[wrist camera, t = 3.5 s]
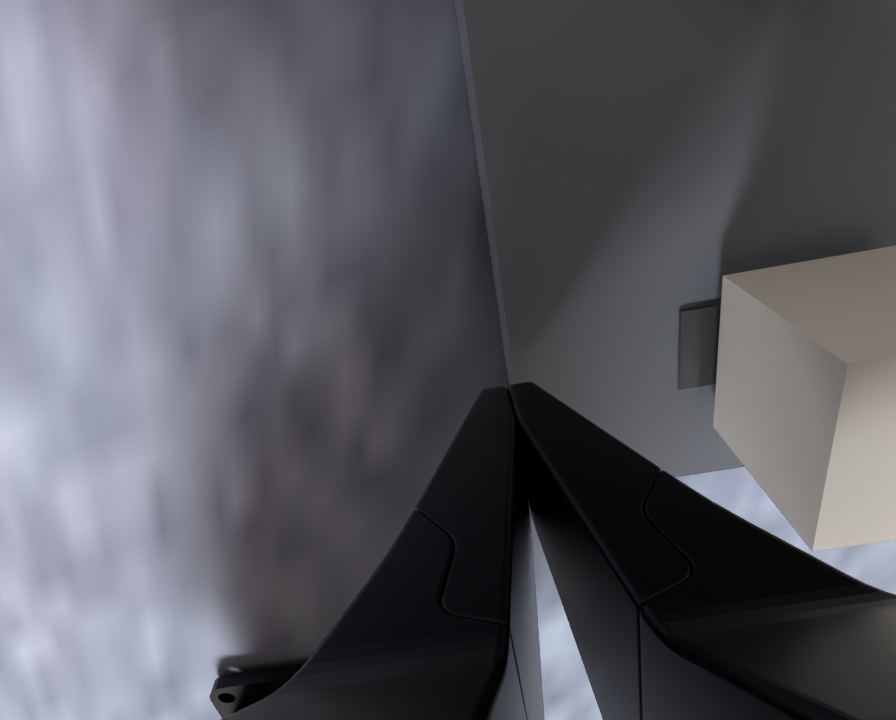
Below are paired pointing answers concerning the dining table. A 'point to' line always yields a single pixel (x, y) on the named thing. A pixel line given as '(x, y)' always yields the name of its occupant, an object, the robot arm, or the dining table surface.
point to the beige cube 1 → (815, 392)
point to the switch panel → (668, 184)
